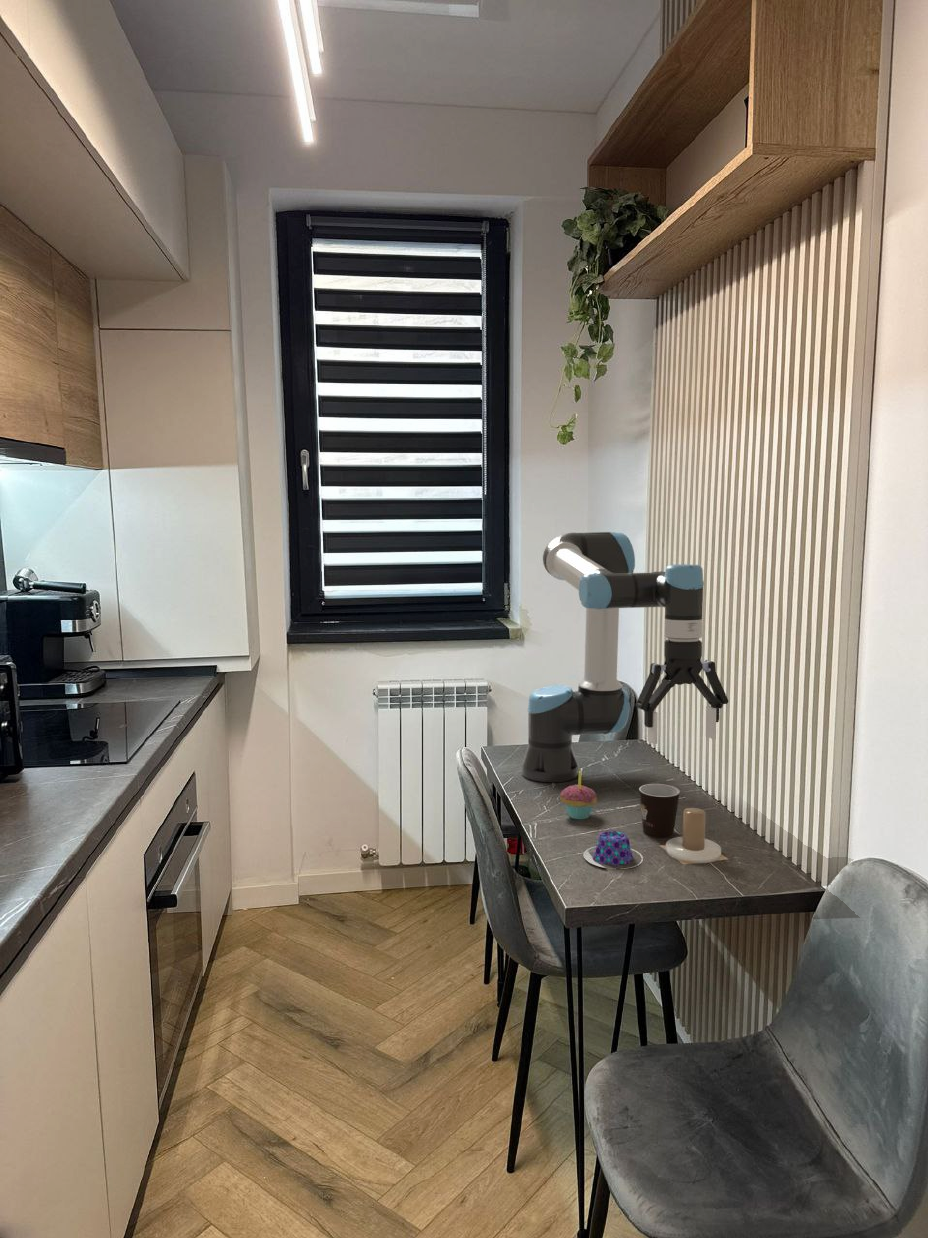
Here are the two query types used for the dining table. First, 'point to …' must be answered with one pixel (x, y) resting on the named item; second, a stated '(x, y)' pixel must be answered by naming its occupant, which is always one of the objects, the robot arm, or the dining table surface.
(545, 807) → the dining table surface
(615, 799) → the dining table surface
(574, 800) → the cupcake
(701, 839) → the lid
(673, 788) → the coffee mug
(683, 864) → the cork mat
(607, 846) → the pudding
